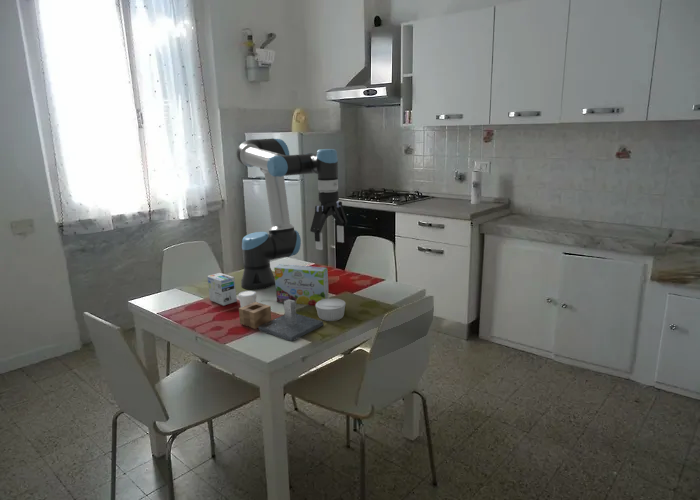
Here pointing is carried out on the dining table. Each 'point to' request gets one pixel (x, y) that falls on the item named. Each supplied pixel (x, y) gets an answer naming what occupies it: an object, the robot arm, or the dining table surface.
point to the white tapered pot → (247, 298)
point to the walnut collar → (255, 314)
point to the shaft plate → (291, 330)
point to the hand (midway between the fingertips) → (330, 245)
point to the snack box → (301, 284)
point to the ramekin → (330, 309)
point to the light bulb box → (222, 288)
